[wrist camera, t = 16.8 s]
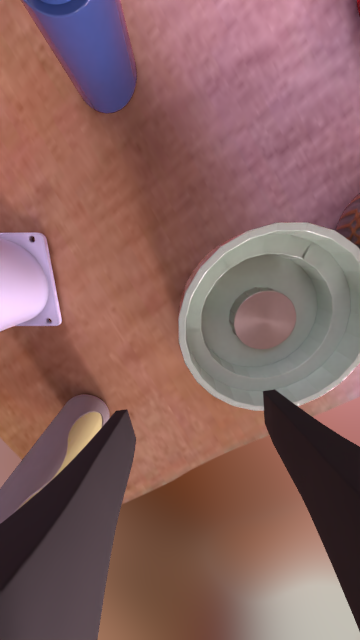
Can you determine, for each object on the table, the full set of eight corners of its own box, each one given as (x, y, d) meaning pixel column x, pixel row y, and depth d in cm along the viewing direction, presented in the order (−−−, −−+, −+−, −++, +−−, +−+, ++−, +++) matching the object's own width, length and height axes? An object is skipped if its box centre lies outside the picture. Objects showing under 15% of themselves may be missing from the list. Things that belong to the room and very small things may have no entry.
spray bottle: (84, 433, 23) (-406, 1308, 4) (57, 402, 22) (-859, 1461, 3) (119, 418, 22) (-261, 1393, 3) (95, 384, 21) (-791, 1668, 2)
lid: (291, 330, 18) (303, 337, 17) (238, 349, 19) (244, 358, 17) (278, 277, 17) (288, 279, 15) (221, 300, 18) (225, 304, 16)
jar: (80, 116, 14) (-22, -25, 7) (65, 32, 13) (-77, -241, 6) (140, 110, 14) (99, -41, 7) (131, 24, 13) (68, -266, 6)
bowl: (179, 378, 21) (179, 410, 16) (179, 232, 17) (177, 223, 12) (316, 379, 20) (351, 411, 16) (349, 230, 16) (409, 221, 12)
